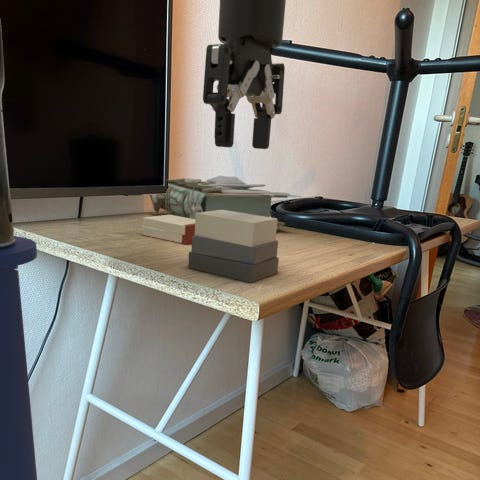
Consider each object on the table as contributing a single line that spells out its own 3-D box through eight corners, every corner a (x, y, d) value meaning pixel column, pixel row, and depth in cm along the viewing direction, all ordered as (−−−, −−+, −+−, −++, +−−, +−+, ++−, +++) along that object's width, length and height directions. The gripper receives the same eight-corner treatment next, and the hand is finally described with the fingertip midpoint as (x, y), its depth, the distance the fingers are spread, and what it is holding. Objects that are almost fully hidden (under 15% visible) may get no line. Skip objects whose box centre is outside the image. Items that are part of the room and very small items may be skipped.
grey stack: (250, 283, 61) (253, 248, 59) (187, 267, 66) (189, 235, 64) (278, 272, 67) (281, 241, 65) (218, 259, 72) (220, 229, 70)
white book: (252, 247, 60) (253, 222, 59) (194, 235, 64) (195, 212, 63) (275, 241, 65) (277, 218, 64) (220, 230, 69) (221, 209, 68)
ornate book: (145, 216, 111) (202, 236, 86) (145, 172, 108) (203, 180, 83) (232, 215, 122) (304, 233, 97) (233, 175, 119) (308, 183, 94)
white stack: (186, 244, 80) (187, 226, 79) (140, 235, 85) (140, 217, 84) (212, 239, 86) (213, 222, 85) (168, 230, 91) (168, 214, 90)
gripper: (256, 15, 63) (247, 147, 68) (188, -19, 51) (183, 144, 57) (309, 11, 59) (295, 151, 65) (247, -26, 48) (236, 148, 53)
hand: (242, 147), depth 61 cm, fingers open, 8 cm apart
